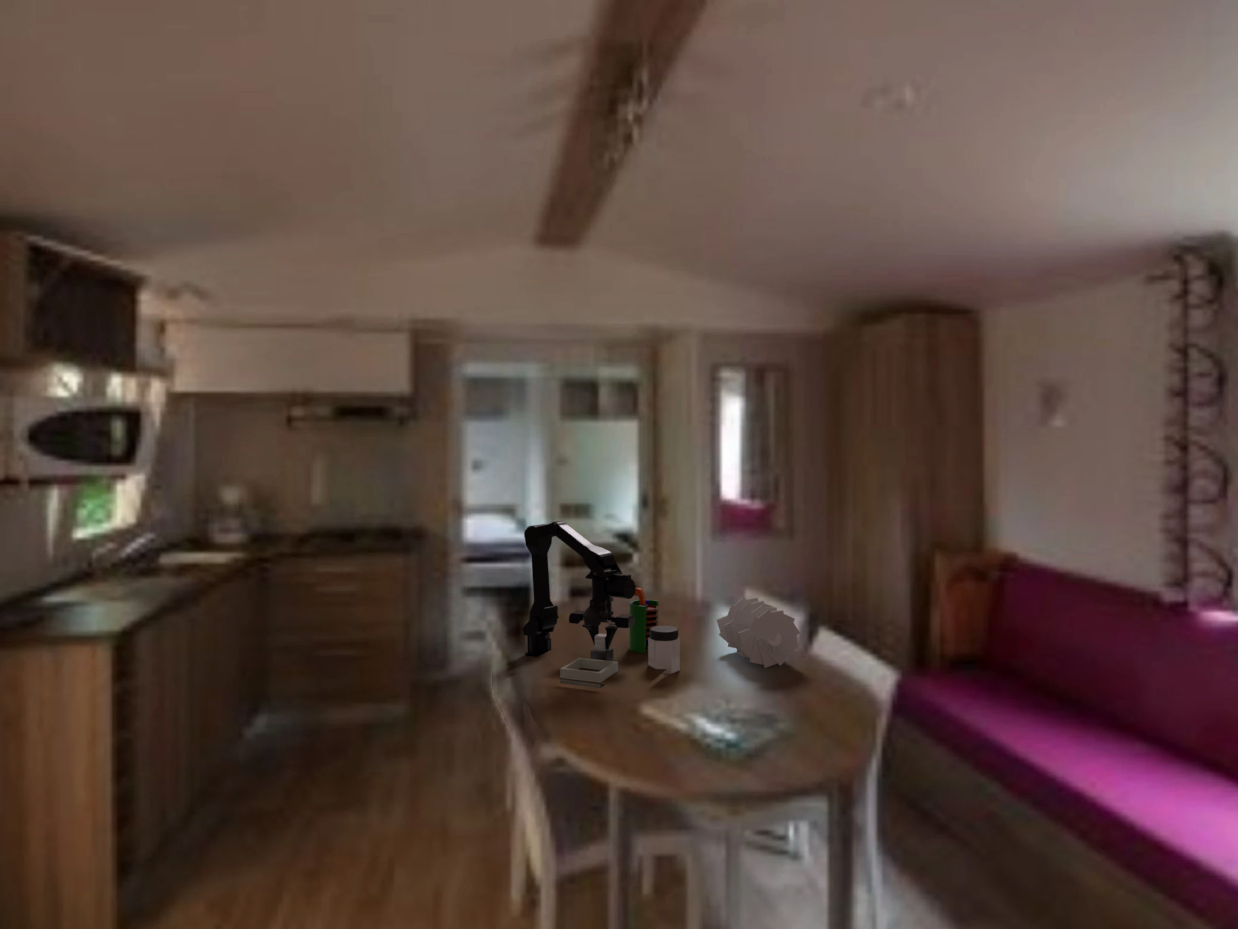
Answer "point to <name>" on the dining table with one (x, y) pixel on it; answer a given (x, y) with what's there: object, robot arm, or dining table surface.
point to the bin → (588, 672)
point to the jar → (664, 649)
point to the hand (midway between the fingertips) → (602, 648)
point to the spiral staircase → (759, 632)
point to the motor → (642, 621)
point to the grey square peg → (601, 649)
